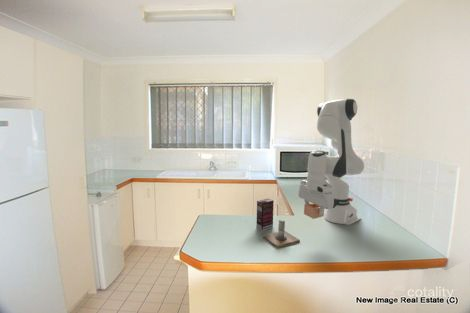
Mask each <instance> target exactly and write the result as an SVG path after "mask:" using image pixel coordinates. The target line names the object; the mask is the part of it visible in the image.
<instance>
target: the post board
mask: <svg viewBox="0 0 470 313" xmlns="http://www.w3.org/2000/svg"><path fill="white" fill-rule="evenodd" d="M285 224H286V221H285V219H279V220H278V228H277V229H278V230H277V231H278V232H274V233H270V234H266V235H262V239H263V240H265V241H266V242H267V243H269V244H270V245H272V246H273V247H275V248H276V249H280V248H283V247H287V246H290V245H294V244H298V243H300V242H301V240H300V239H299V238H297V237H296V236H294V235H293V234H291V233H289V232H288V231H286V230H285V226H286V225H285Z"/></svg>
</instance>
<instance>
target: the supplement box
mask: <svg viewBox="0 0 470 313" xmlns="http://www.w3.org/2000/svg"><path fill="white" fill-rule="evenodd" d="M272 228H274V199H270V198H265V199H261V200H257V201H256V229H257V230H259V231H261V232H263V231H266V229H267V230H269V229H272Z"/></svg>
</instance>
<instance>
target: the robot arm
mask: <svg viewBox="0 0 470 313" xmlns="http://www.w3.org/2000/svg"><path fill="white" fill-rule="evenodd" d="M357 113H358V104H357V101H356V100H355V99H353V98H347V99H346V98H345V99H335V100H331V101H327V102H325V101H324V102H321V103H320V104H318V106H317V109H316V114H317V116H318V119H317V123H316V124H317V125H316V129H317V131H318V132H319V134H320V135H321V136H323V137H325V138H327V139H329V140H331V141H330V144H331V147H332V148H333V149H335V150H336V151H337V155H327V152H325V151H324V150H318V149H317V150H312V151H310V152H309V154H308V159H307V165H306V166H307V167H306V170H307V176H306V180H304V179H303V180H301V181H300V182H299V183H300V185H299V187H298V188H299V189H298V193H297V194H298V197H299V198H300V199H301V200H304V204H309V203H314V204H316V205H318V206H320V208H321V209H320V210H318V214H319V215H322V214H323V210H324V216H323V219H324V220H326V221H327V222H330V223H333V224H340V225H348V226H350V225H352V224H354V223H356V222H359V221H360V220H361V219H362V218H361V217H360V215H357V214H358V212H357V208H355V207H354V206H353V205H352V204H351V202H353V200H354V198H353V197H349V193H350V191H349V190H350V185H349V184H348V182H346V181H345V180H343V179H341V178H342V177H344V176H356V175H360V174H362V173H363V172H364V169H365V162H364V160H363V159H362V158H361V157H359V155H357V154H356V152H355V150H354V148H353V145H352V143H353V142H352V123H351V121H352V119H353V118H354V117H355V116H356V115H357Z"/></svg>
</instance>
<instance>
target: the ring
mask: <svg viewBox="0 0 470 313" xmlns="http://www.w3.org/2000/svg"><path fill="white" fill-rule="evenodd" d="M303 207H304V208H303V215H305V216H307V217H309V218H310V219H313V220H314V219H319V218H322V217H323V218H324V216H325V215H324V213H325V209H324V210H323V214H322V215H319V214H318V210H320V209H321V208H320V206H318V205H316V204H314V203H311V202H309V204H305V203H304V206H303Z"/></svg>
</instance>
